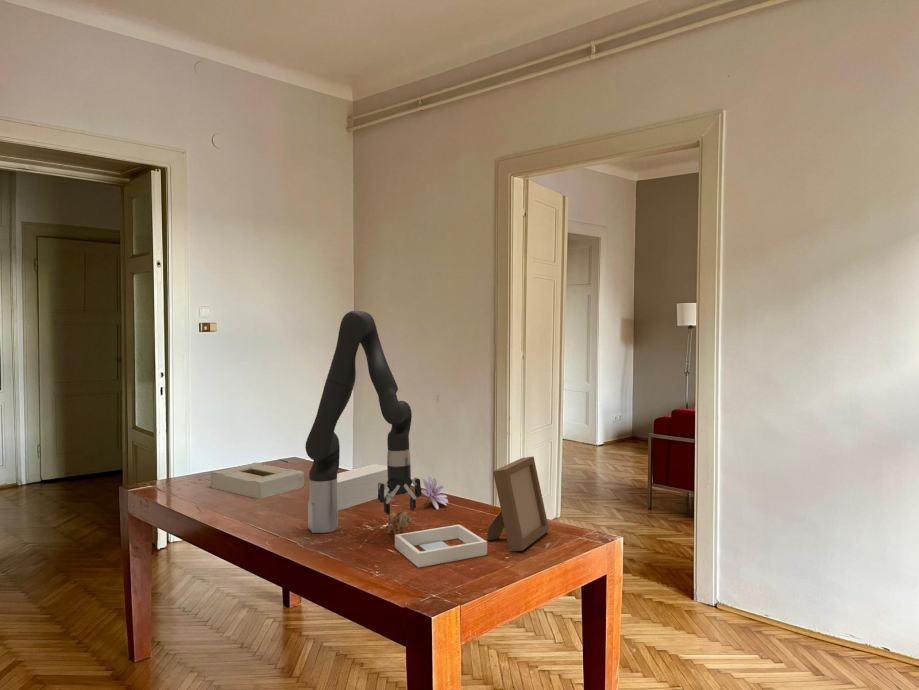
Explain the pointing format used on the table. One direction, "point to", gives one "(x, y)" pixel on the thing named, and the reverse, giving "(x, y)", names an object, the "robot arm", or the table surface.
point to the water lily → (434, 492)
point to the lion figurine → (398, 522)
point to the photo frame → (519, 505)
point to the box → (257, 480)
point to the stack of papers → (360, 485)
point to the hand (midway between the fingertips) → (400, 512)
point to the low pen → (440, 545)
